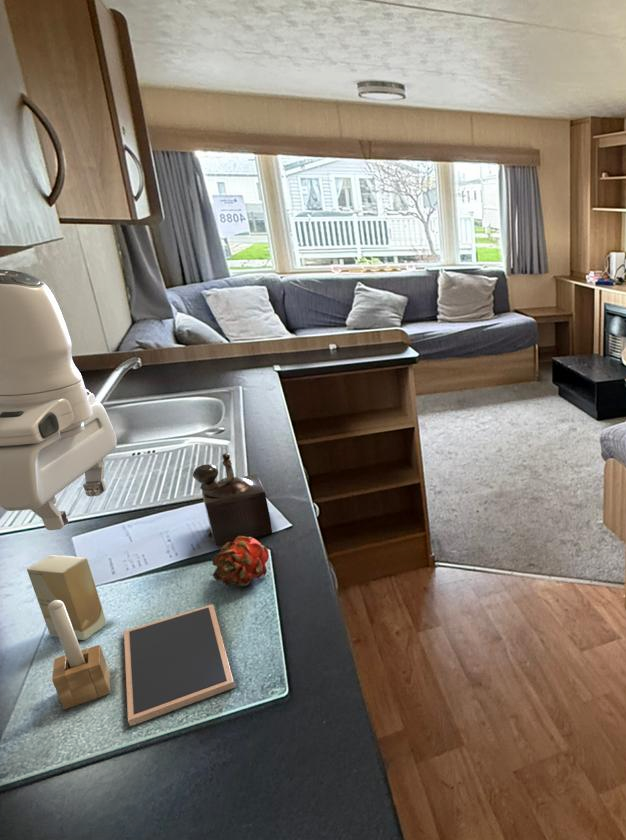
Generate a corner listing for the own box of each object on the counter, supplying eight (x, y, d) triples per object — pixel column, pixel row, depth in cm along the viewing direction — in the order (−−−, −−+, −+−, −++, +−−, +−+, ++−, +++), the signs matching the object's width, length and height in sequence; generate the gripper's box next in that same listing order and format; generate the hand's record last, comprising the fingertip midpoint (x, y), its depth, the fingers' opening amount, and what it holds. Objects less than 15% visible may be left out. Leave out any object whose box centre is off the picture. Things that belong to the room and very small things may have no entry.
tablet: (129, 726, 83) (127, 720, 82) (125, 636, 99) (123, 630, 99) (235, 687, 89) (233, 681, 89) (214, 608, 106) (212, 603, 105)
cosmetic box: (49, 637, 99) (22, 568, 94) (74, 619, 103) (49, 553, 98) (86, 641, 98) (61, 572, 94) (110, 623, 102) (87, 556, 98)
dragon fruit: (240, 608, 108) (245, 580, 119) (280, 570, 110) (281, 547, 121) (197, 577, 105) (206, 552, 115) (238, 539, 106) (243, 517, 117)
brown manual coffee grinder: (206, 527, 131) (184, 444, 124) (266, 513, 137) (248, 433, 130) (214, 561, 119) (191, 472, 112) (279, 544, 125) (261, 458, 118)
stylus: (80, 696, 87) (45, 606, 82) (80, 689, 89) (46, 600, 83) (95, 691, 88) (61, 602, 83) (95, 685, 90) (62, 596, 84)
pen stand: (63, 709, 85) (51, 679, 83) (65, 687, 89) (54, 658, 87) (110, 693, 88) (99, 664, 86) (110, 673, 92) (99, 644, 90)
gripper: (62, 385, 87) (91, 478, 92) (-45, 439, 69) (0, 552, 74) (114, 383, 89) (141, 475, 94) (24, 435, 70) (63, 546, 75)
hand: (78, 509), depth 84 cm, fingers open, 8 cm apart
